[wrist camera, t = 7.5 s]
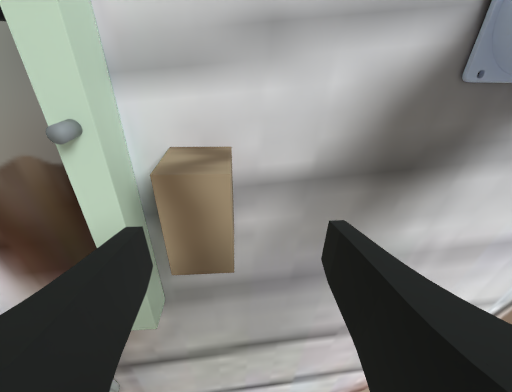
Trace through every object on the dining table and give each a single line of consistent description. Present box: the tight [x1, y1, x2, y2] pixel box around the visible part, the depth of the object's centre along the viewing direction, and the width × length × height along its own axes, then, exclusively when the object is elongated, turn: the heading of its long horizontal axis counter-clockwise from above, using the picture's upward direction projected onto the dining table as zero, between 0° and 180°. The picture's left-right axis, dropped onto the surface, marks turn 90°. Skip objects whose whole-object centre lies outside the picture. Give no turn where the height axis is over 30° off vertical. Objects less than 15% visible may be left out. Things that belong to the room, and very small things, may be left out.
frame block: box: [150, 147, 234, 275], centre depth 18 cm, size 5×8×5 cm, turn 179°
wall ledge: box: [0, 0, 165, 330], centre depth 17 cm, size 2×26×5 cm, turn 179°
